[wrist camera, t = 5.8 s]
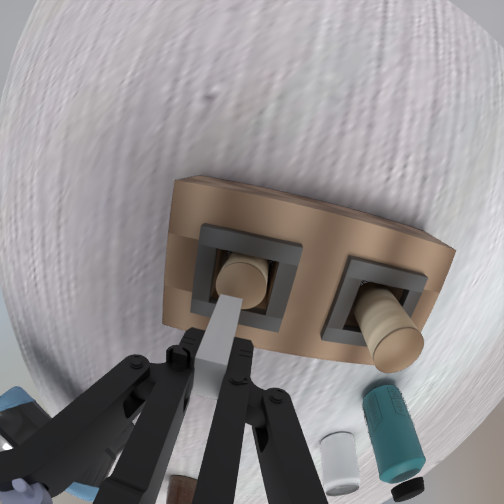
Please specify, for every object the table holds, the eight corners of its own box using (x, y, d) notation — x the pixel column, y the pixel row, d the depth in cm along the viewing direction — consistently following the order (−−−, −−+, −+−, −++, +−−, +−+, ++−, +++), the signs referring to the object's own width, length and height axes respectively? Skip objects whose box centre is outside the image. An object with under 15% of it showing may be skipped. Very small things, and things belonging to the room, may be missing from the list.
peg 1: (229, 267, 29) (212, 303, 22) (235, 232, 28) (219, 258, 21) (265, 275, 29) (260, 313, 22) (273, 240, 28) (271, 269, 20)
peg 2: (345, 315, 24) (364, 371, 17) (359, 277, 23) (388, 326, 15) (380, 321, 24) (407, 373, 17) (396, 285, 23) (432, 332, 15)
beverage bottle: (352, 391, 35) (374, 505, 16) (390, 369, 33) (431, 482, 14) (368, 408, 36) (390, 509, 17) (403, 389, 35) (438, 488, 16)
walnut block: (183, 292, 32) (158, 329, 24) (199, 175, 27) (170, 181, 20) (383, 332, 31) (403, 372, 24) (424, 231, 27) (461, 253, 19)
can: (341, 427, 38) (349, 482, 27) (359, 437, 39) (368, 487, 28) (313, 441, 40) (315, 493, 29) (332, 450, 41) (336, 498, 30)
